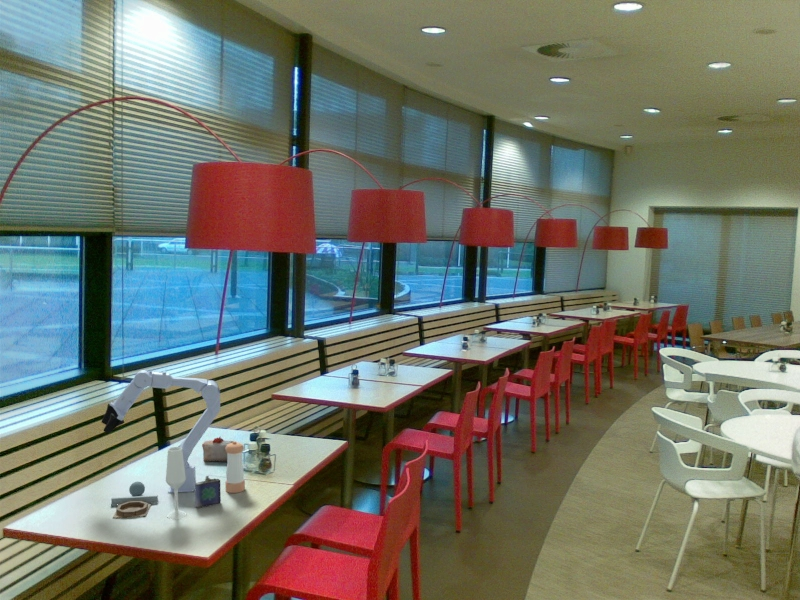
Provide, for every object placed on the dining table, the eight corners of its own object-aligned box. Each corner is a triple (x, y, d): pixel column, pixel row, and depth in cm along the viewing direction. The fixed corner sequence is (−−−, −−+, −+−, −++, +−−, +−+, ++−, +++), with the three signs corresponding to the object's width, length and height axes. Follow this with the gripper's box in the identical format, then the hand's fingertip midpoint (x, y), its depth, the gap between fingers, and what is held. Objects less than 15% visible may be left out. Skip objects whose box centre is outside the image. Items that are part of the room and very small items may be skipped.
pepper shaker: (248, 489, 275) (247, 441, 273) (232, 494, 270) (231, 445, 268) (237, 484, 280) (237, 437, 278) (221, 489, 275) (220, 441, 273)
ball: (146, 493, 271) (145, 479, 270) (143, 498, 266) (143, 484, 265) (131, 493, 270) (130, 479, 269) (128, 499, 265) (127, 485, 264)
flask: (196, 508, 256) (195, 479, 255) (194, 506, 259) (193, 477, 258) (221, 503, 261) (221, 475, 260) (219, 501, 263) (218, 473, 262)
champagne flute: (163, 514, 251) (162, 448, 248) (182, 510, 255) (181, 444, 252) (170, 520, 245) (168, 453, 243) (189, 516, 250) (188, 449, 247)
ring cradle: (151, 504, 260) (150, 499, 259) (145, 516, 249) (145, 511, 249) (119, 506, 258) (119, 501, 257) (112, 518, 247) (112, 513, 247)
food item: (200, 462, 307) (199, 440, 306) (206, 456, 315) (206, 434, 314) (231, 463, 306) (230, 441, 305) (236, 457, 314) (236, 435, 313)
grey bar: (158, 500, 263) (158, 494, 263) (157, 503, 260) (156, 497, 260) (112, 503, 261) (112, 496, 260) (110, 506, 258) (110, 499, 257)
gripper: (116, 386, 271) (93, 414, 270) (120, 400, 259) (97, 431, 258) (131, 394, 275) (109, 423, 274) (137, 409, 263) (114, 439, 262)
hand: (104, 427), depth 266 cm, fingers open, 7 cm apart
